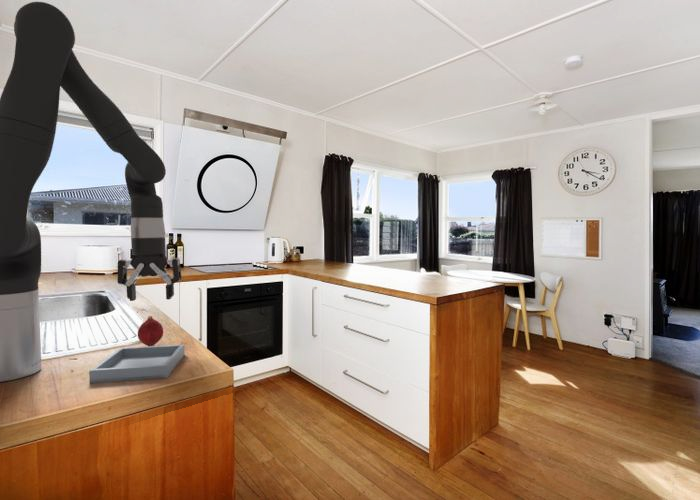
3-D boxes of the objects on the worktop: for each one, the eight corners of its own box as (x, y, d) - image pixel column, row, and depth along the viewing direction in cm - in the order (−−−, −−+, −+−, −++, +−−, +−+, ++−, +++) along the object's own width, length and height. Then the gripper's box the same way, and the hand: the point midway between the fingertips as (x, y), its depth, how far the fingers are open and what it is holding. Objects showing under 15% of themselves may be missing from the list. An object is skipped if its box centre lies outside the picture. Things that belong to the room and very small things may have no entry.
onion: (167, 346, 93) (166, 315, 93) (143, 352, 89) (142, 319, 88) (158, 341, 97) (157, 312, 97) (134, 346, 93) (133, 316, 92)
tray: (89, 383, 71) (89, 370, 70) (120, 358, 84) (120, 347, 84) (166, 377, 73) (166, 365, 73) (184, 354, 87) (184, 344, 87)
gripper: (110, 236, 86) (113, 304, 87) (174, 236, 89) (176, 301, 90) (123, 236, 94) (127, 298, 95) (182, 235, 96) (184, 295, 97)
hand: (151, 299), depth 92 cm, fingers open, 8 cm apart
